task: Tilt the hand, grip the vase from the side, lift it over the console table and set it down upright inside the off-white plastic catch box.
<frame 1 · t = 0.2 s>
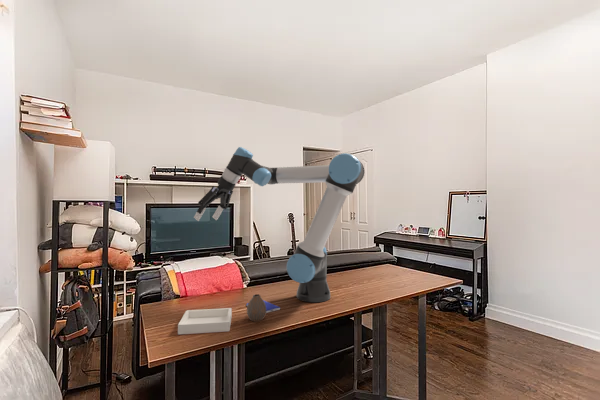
hand: (205, 218, 141), 35 cm above the table, tool tilted 35°, fingers open, 13 cm apart
vase: (256, 320, 111), on the table
hard drive: (262, 309, 124), on the table
catch box: (206, 324, 106), on the table
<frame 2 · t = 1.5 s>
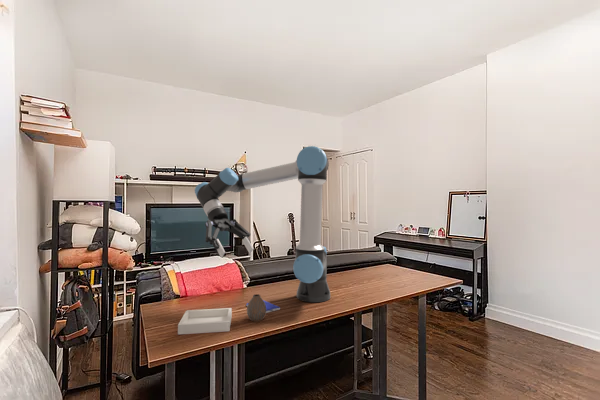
hand: (238, 252, 118), 23 cm above the table, tool tilted 45°, fingers open, 13 cm apart
nothing on the table moved.
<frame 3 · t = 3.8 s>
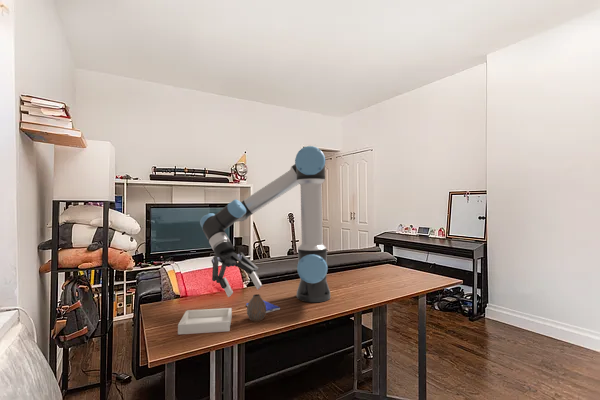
hand: (245, 291, 114), 9 cm above the table, tool tilted 45°, fingers open, 13 cm apart
nothing on the table moved.
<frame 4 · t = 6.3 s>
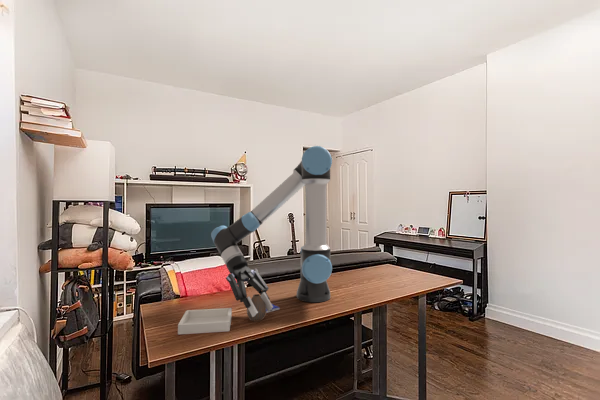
hand: (263, 311, 109), 3 cm above the table, tool tilted 45°, fingers closed on vase, 7 cm apart
vase: (256, 320, 111), on the table, touching gripper
everything else where it was.
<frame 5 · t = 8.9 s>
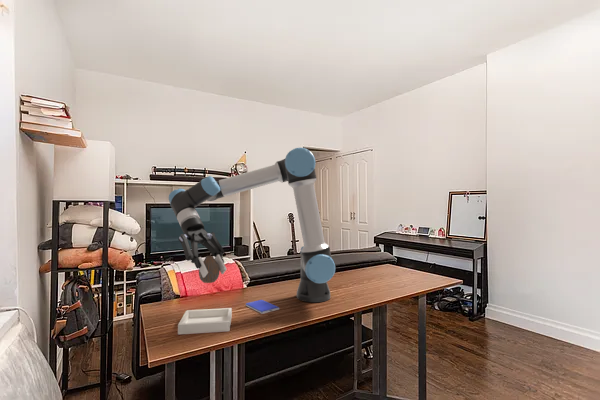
hand: (215, 273, 104), 18 cm above the table, tool tilted 45°, fingers closed on vase, 7 cm apart
vase: (209, 282, 107), point 14 cm above the table, touching gripper
everything else where it was.
when the fingers open (5 cm above the table, at t = 11.8 s): vase stays where it is, resting on catch box.
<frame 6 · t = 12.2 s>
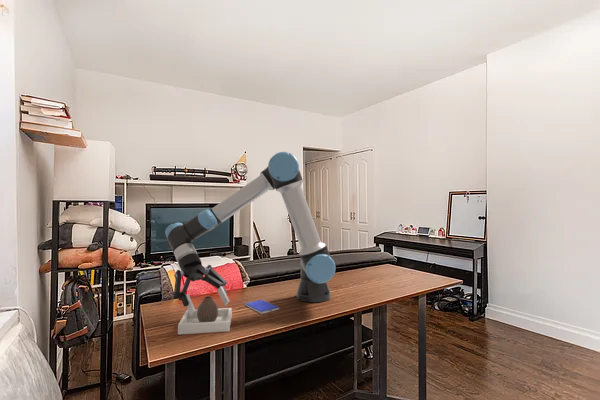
hand: (211, 308, 104), 6 cm above the table, tool tilted 45°, fingers open, 13 cm apart
vase: (207, 323, 106), resting on catch box
everything else where it was.
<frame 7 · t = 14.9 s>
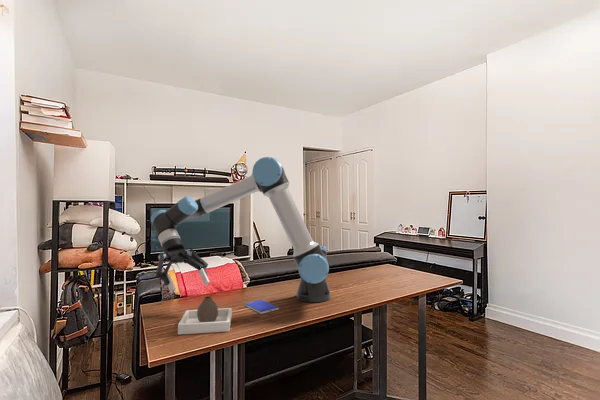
hand: (191, 287, 113), 11 cm above the table, tool tilted 45°, fingers open, 13 cm apart
nothing on the table moved.
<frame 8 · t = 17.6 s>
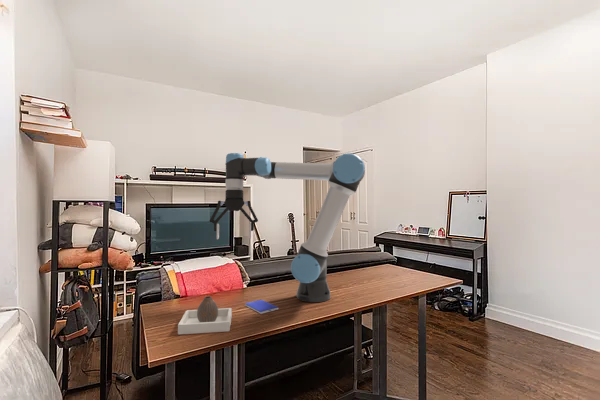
hand: (234, 238, 132), 27 cm above the table, tool pointing down, fingers open, 13 cm apart
nothing on the table moved.
at the end: vase inside the target area on the catch box (0.4 cm from its centre), point 0.3 cm above the catch box's base; vase tilted 0°; the gripper is holding nothing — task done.
